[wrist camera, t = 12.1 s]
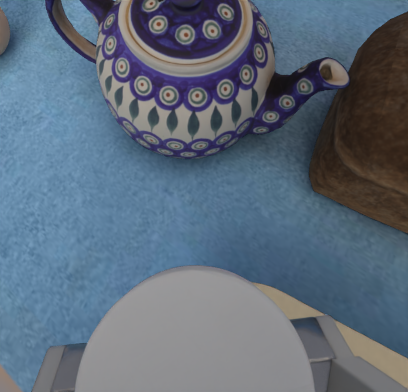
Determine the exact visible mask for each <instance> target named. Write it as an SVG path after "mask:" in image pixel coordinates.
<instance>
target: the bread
mask: <svg viewBox="0 0 408 392" xmlns="http://www.w3.org/2000/svg"><path fill="white" fill-rule="evenodd" d="M348 74H349V76H350V84H349V86H348V87H346V88H345V89H338V91H337V93H336V95H335V97H334V99H333V102H332V104H331V107H330V109H329V111H328V114H327V116H326V118H325V121H324V123H323V126H322V128H321V131H320V133H319V136H318V138H317V141H316V145H315V148H314V152H313V155H312V158H311V162H310V168H309V178H310V181H311V184H312V187H313V190H314V191H315V192H317V193H319V194H322V195H324V196H326V197H328V198H330V199H332V200H334V201H336V202H338V203H340V204H342V205H345V206H347V207H349V208H351V209H353V210H355V211H357V212H359V213H362V214H364V215H366V216H368V217H370V218H372V219H375V220H377V221H380V222H382V223H384V224H387V225H389V226H391V227H394V228H396V229H398V230H401V231H403V232H405V233H408V12H406V13H403V14H401V15H399V16H397V17H395V18H392V19H390V20H388V21H387V22H386V23H385V24H384V25H382V26H381V27H379V28H378V29H376V30H375V31H374V32H373V33H372V34H371V36H370V37H369V38H368V39H367V40H366V41H365V42H364V43H363V45H362V46H361V47H360V48H359V49H358V51H357V53H356V56H355V58H354V61H353V63H352V65H351V67H350V69H349V72H348Z"/></svg>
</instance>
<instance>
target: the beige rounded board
mask: <svg viewBox="0 0 408 392" xmlns="http://www.w3.org/2000/svg"><path fill="white" fill-rule="evenodd" d="M251 283H252V284H254V285H255V286H257V287H258V288H259V289H260V290H261V291H262V292H263V293H264V294H266V295H267V296H268V297H269V298H270V299H272V300H273V301H274V302H275V303H276V305H277V306H278V307H279V308H280V309H281V310H282V311H283V313H284V314H285V315H286V316H287V318H288V319H289V320H290V319H298V318H306V317H315V316H323V315H325V314H323V313H321V312H320V311H318V310H316V309H314V308H312V307H310V306H308V305H306V304H305V303H303V302H301V301H299V300H297V299H295V298H293V297H291V296H289V295H288V294H286V293H284V292H282V291H280V290H278V289H275V288H273V287H270V286H267V285H264V284H259V283H253V282H251ZM333 320H334V321H335V323H336V325H337V327H338V328H339V330H340V332H341V334H342V335H343V337H344V339H345V341H346V342H347V344H348V346H349V348H350V349H351V351H352V353H353V354H354V356H355V357H356V356H360V357H361V358H363V359H364V360H366V361H367V362H369V363H370V364H372V365H373V366H375V367H376V368H378V369H379V370H381V371H382V372H384V373H385V374H387V375H388V376H390V377H391V378H393V379H394V380H396V381H397V382H399V383H400V384H401V385H403V386H404V387H406V388H407V389H408V358H406V357H404V356H402V355H400V354H399V353H397V352H395V351H393V350H391V349H389V348H387V347H385V346H383V345H382V344H380V343H378V342H376V341H374V340H372V339H370V338H368V337H367V336H365V335H363V334H361V333H359V332H357V331H355V330H353V329H352V328H350V327H348V326H346V325H344V324H342V323H340V322H338V321H336V320H335V319H333Z"/></svg>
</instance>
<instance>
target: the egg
mask: <svg viewBox="0 0 408 392" xmlns="http://www.w3.org/2000/svg"><path fill="white" fill-rule="evenodd" d="M9 39H10V27H9V23H8V20H7V18H6V16H5V14H4V12H3V10H2V9H1V7H0V55H1V54H2V53H3V52H4V51H5V49H6V47H7V45H8V43H9Z"/></svg>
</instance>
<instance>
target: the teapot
mask: <svg viewBox="0 0 408 392" xmlns="http://www.w3.org/2000/svg"><path fill="white" fill-rule="evenodd" d="M80 1H81V2H82V4H83V5H84V6H85V7H86V8H87V9H88V10H89V11H90V12H91V14H92V16H93V17H94V19H95V21H96V23H97V24H98V26H99V32H98V39H97V46H96V45H95V44H93V43H91V42H90V41H88V40H87V39H85V38H84V37H82V36H81V35H80V34H79V33H78V32H77V31H76V30H75V29H74V27H73V26H72V24H71V23H70V21H69V20H68V18H67V17H66V15H65V12H64V9H63V6H62V3H61V0H45V4H46V10H47V13H48V16H49V19H50V21H51V22H52V24H53V26H54V28H55V30H56V31H57V32H58V34H59V35H60V36H61V37H62V39H63V40H64V41H65V42H66V43H67V44H68V45H69V46H70V47H71V48H72V49H74V50H75V51H76V52H77V53H79V54H80V55H81V56H83V57H84V58H86V59H88V60H89V61H91V62H93V63H95V64H96V65H97V75H98V79H99V83H100V86H101V90H102V93H103V96H104V98H105V100H106V103H107V105H108V107H109V109H110V111H111V113H112V114H113V116H114V117H115V119H116V120H117V122H118V123H119V125H120V126H121V127H122V128H123V129H124V130H125V131H126V133H127V134H128V135H129V136H130V137H131V138H132V139H133V140H135V141H136V142H138V143H139V144H140V145H142V146H143V147H145V148H147V149H149V150H151V151H153V152H155V153H158V154H161V155H164V156H167V157H173V158H178V159H195V158H203V157H207V156H211V155H214V154H216V153H219V152H221V151H224V150H225V149H227V148H229V147H230V146H232V145H233V144H235V143H236V142H237V141H238V140H239V139H240V138H241V137H243V136H245V135H247V134H257V135H259V134H265V133H270V132H272V131H274V130H276V129H278V128H280V127H282V126H283V125H284V124H285V123H286V122H288V121H289V120H290V119H291V118H292V117H293V115H294V114H295V113H296V112H297V111H298V110H299V109H300V108H301V106H302V105H303V104H304V103H305V102H306V101H307V100H308V99H309V98H310V97H311V96H313V95H314V94H316V93H318V92H320V91H324V90H333V89H345V88H346V87H348V86H349V84H350V76H349V74H348V72H347V70H346V69H345V67H344V66H343V65H342V64H340V63H339V62H338V61H337V60H335V59H332V58H329V57H325V58H322V59H318V60H315V61H312V62H310V63H308V64H307V65H305V66H303V67H301V68H299V69H298V70H296V71H295V72H293V73H292V74H291V75H280V74H278V73H276V72H275V55H274V47H273V42H272V38H271V33H270V30H269V28H268V25H267V23H266V21H265V20H264V18H263V17H262V15H261V14H260V12H259V10H258V9H257V7H256V6H255V5H254V4H253V3H252V2H251V1H250V0H116V1H113V0H80Z"/></svg>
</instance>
